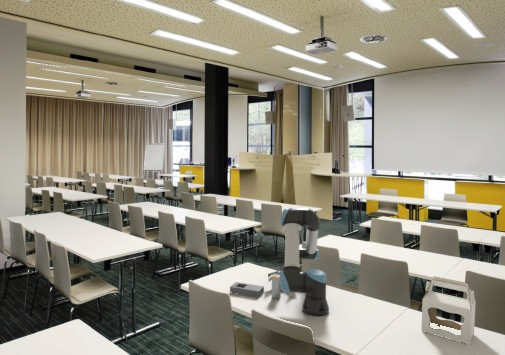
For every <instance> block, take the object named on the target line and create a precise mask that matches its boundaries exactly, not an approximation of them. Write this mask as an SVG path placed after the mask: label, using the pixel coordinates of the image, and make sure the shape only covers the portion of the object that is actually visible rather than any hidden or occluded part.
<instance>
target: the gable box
mask: <svg viewBox="0 0 505 355" xmlns="http://www.w3.org/2000/svg"><path fill="white" fill-rule="evenodd" d="M434 286H435V287H440V288H444V289H450V290H455V291H458V292H459V291H460V292H463V293H466V295H467V296H466V298H462V297H458V296H453V295H449V294H446V293H441V292H436V291H433V287H434ZM476 304H477V301H476V299H475V290H471V288H470V287H469V283H468V282H464V281H460V280H459V281H458V280H453V279H449V278H444V277H440V276H432V278H431V281H428V280H426V284H425V292H424V295H423V297H422V303H421V306H422V307H421V308H422V309H421V330H422V331H425V332H428V333H427V334H429V333H432V334H436V335H439V336H443V337H447V338H450V339H453V340H457V341H460V342H463V343H467V344H470V345H471V343H472V341H473V339H474V336H473V335H475V324H476V323H475V322H476ZM437 309H439V310H441V311H444V312H447V313H449V314H457V315H460V316H462V317H463V318H464V320H463V322H462V324H460V323H457V322H456V321H453V320H451V319H440V318H438V317H437V316H436V315H437V311H438V310H437ZM430 322H431V323H435V324H438V325H437V326H439V327H440V325H442V326H446V327H450V328H454V329H457V330H461V335H455V334H453V333H451V332H449V331H446V330H442V329H433V328H431V327H430ZM421 330H420V331H421ZM422 331H421V332H422ZM425 332H424V333H425ZM432 334H431V335H432ZM436 335H435V336H436ZM439 336H438V337H439ZM443 337H442V338H443ZM453 340H452V341H453ZM471 340H472V341H471ZM460 342H459V343H460ZM470 342H471V343H470ZM463 343H462V344H463ZM467 344H466V345H467Z"/></svg>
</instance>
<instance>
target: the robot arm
mask: <svg viewBox="0 0 505 355" xmlns="http://www.w3.org/2000/svg"><path fill="white" fill-rule="evenodd" d="M280 225H281V227H282V228H283V230H284V231H285V233H284V234H285V240H284V241H285V242H284V243H285V245H284V266H283V267H282V268H281V271H279V270H276V271H273V272H269V273H268V274H267V277H268V281H267V283H271V282H272V276H273V275H274V274H277V275H280V282H281V292H283V293H290V294H291V293H295V294H296V293H297V294H298V293H300V294H302V293H303V294H305V296H304V300H303V304H302V306H301V307H302V308H301V310H302V311H303V313H304V314H306V315H308V316H314V317H322V316H326V315H327V314H329V312H330V307H329V304H328V300H327V275H326V273H325V272H324V271H322V270H321V269H316V268H307V269H306V270H305V271H303V269H302V267H301V266H300V260H310V261H311V260H313V261H315V260H319V259H320V250H319V249H318V238H319V229H320V228H321V219H320V217H319V215H318V214H317V212H315V211H314V210H312V209H310V208H308V207H307V208H303V207H301V208H298V207H296V208H294V207H293V208H292V207H287V208H283V210H282V213H281V220H280ZM302 227H305V228H306V235H305V236H306V238H305V248H303V247H302V248H301V247H300V231H301V230H302Z"/></svg>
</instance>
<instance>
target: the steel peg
mask: <svg viewBox="0 0 505 355" xmlns="http://www.w3.org/2000/svg"><path fill="white" fill-rule="evenodd" d="M281 292H282V290H281V282H280V275H277V274H274V275H273V276H272V280H271V299H273V300H279V299H280V298H281V297H282V293H281Z"/></svg>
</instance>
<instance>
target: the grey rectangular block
mask: <svg viewBox="0 0 505 355" xmlns="http://www.w3.org/2000/svg"><path fill="white" fill-rule="evenodd" d="M230 292H232V293H231V294H235V293H238V294H237V295H240V294H243V295H242V296H246V295H247V296H248V297H251V298H252V297H253V298H260V297H261V296H262V295H263V294H264V293H265V286H263V285H257V284H252V283H251V284H250V283H245V282H244V283H243V282H234V283H233V284H232V285H231V286H229V293H230Z"/></svg>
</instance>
